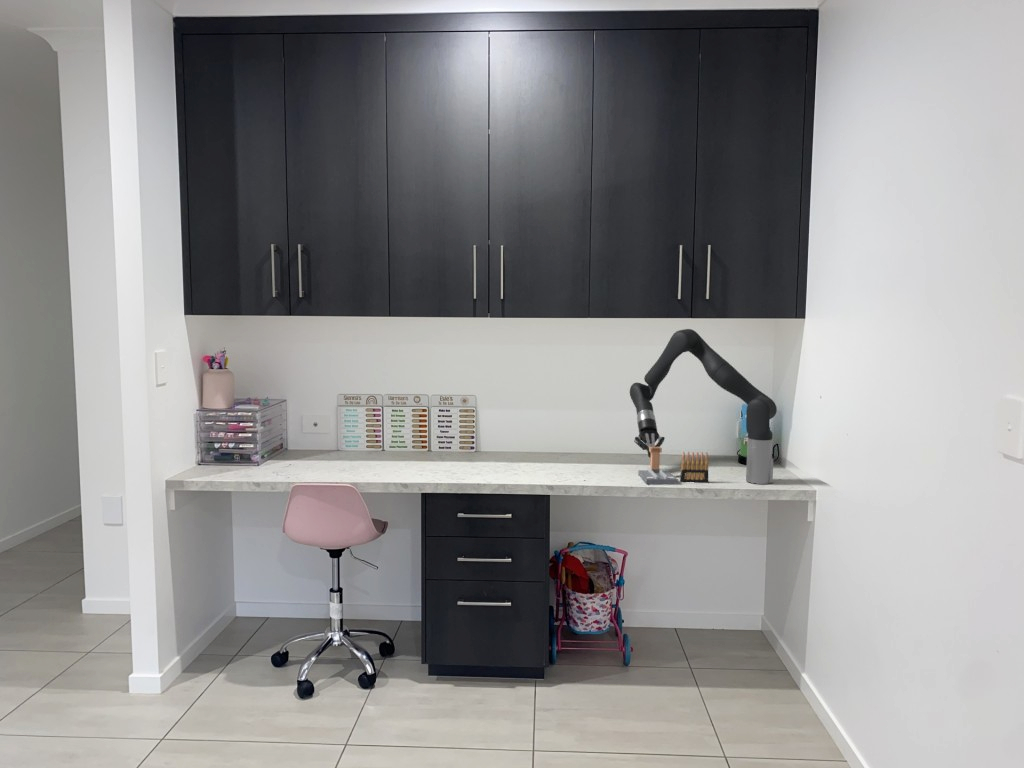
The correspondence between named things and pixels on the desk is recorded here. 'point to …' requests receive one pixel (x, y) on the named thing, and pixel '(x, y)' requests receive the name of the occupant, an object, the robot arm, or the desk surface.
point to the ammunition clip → (694, 469)
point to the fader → (655, 458)
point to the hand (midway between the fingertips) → (652, 457)
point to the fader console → (657, 477)
